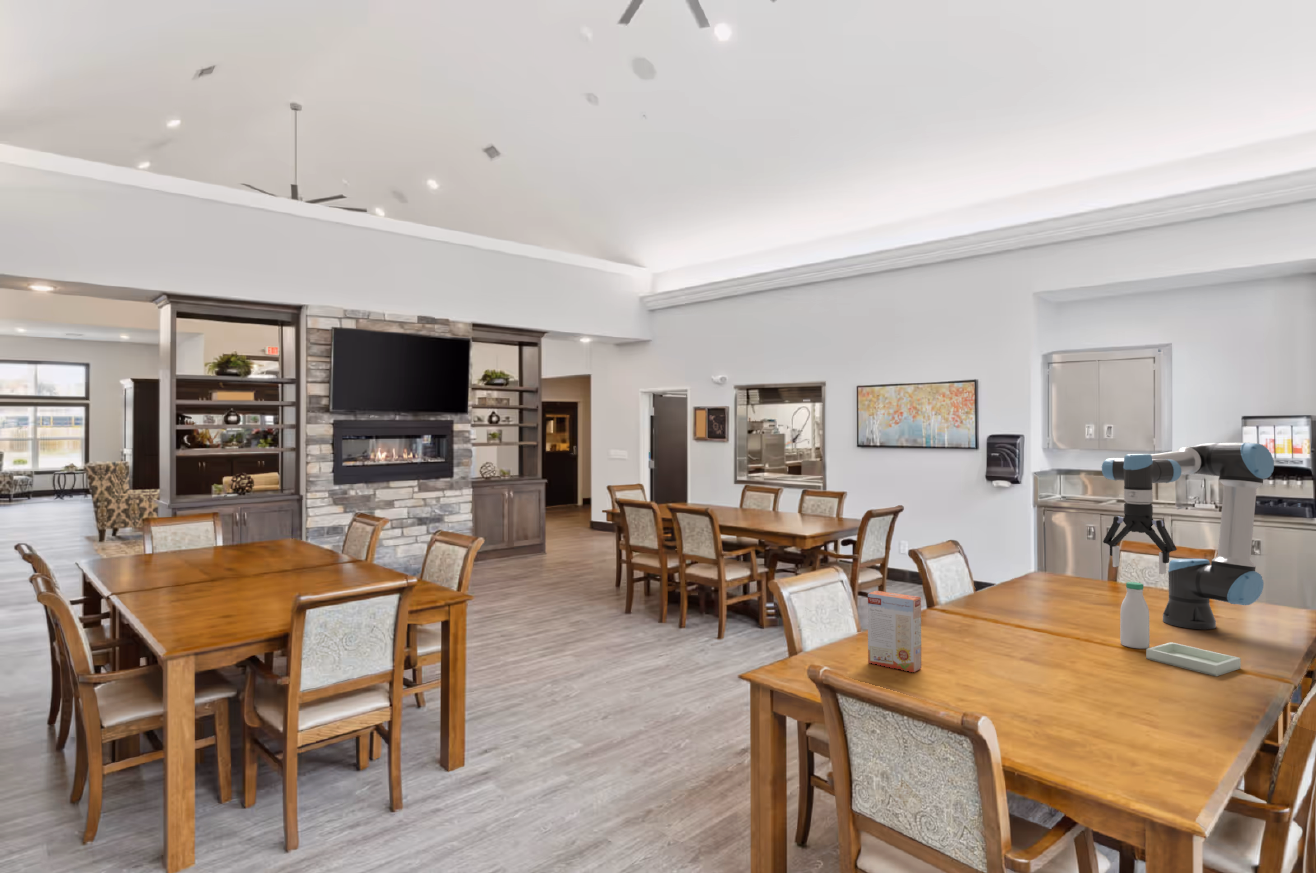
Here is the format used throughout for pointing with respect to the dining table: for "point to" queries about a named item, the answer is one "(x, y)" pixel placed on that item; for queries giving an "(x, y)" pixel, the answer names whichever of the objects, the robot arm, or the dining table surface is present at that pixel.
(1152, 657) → the tray
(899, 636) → the cracker box
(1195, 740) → the dining table surface
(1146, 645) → the milk bottle
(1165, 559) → the robot arm
